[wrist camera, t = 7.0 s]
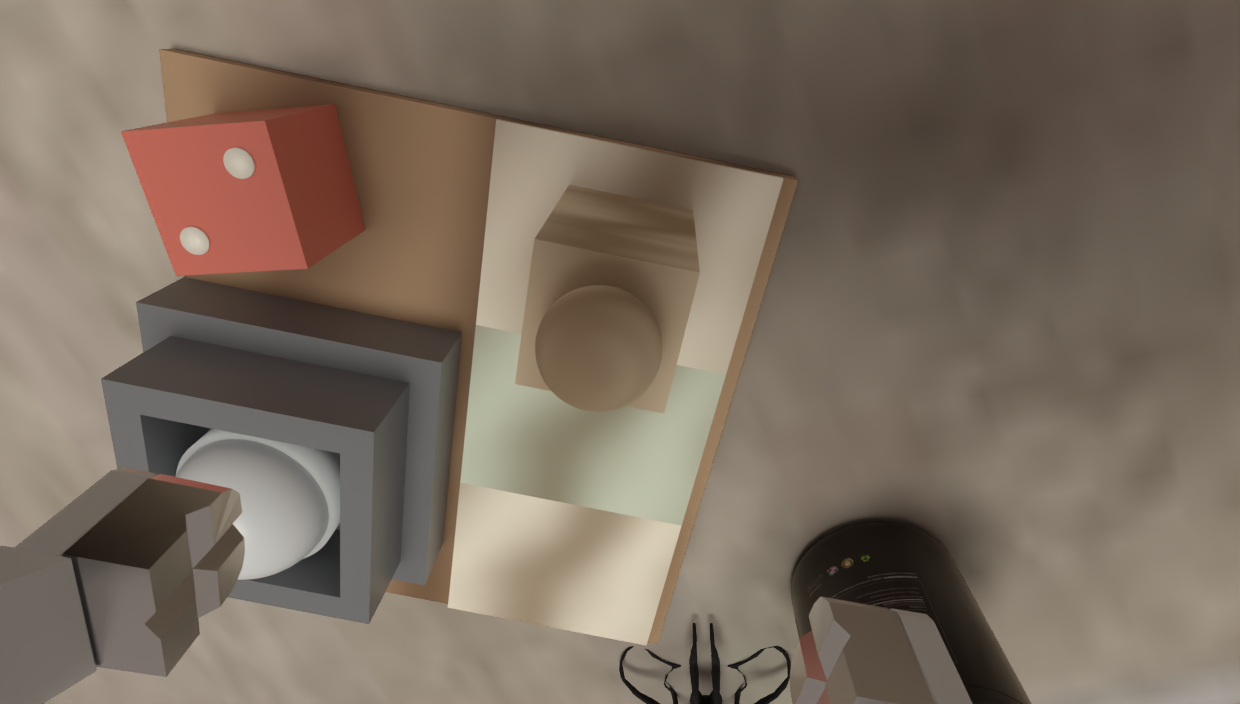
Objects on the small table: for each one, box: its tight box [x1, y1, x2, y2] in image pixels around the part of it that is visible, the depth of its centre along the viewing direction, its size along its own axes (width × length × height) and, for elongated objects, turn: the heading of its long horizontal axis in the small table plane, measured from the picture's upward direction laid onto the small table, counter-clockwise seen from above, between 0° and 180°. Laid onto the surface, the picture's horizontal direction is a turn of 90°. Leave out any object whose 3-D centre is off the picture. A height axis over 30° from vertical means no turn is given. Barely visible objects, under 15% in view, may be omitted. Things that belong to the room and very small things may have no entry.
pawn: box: [515, 185, 700, 413], centre depth 18 cm, size 4×4×8 cm
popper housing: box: [101, 277, 462, 624], centre depth 24 cm, size 10×10×6 cm
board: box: [159, 49, 798, 645], centre depth 26 cm, size 20×21×1 cm
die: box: [121, 104, 365, 276], centre depth 20 cm, size 4×4×4 cm
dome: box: [176, 429, 340, 580], centre depth 22 cm, size 5×5×5 cm
